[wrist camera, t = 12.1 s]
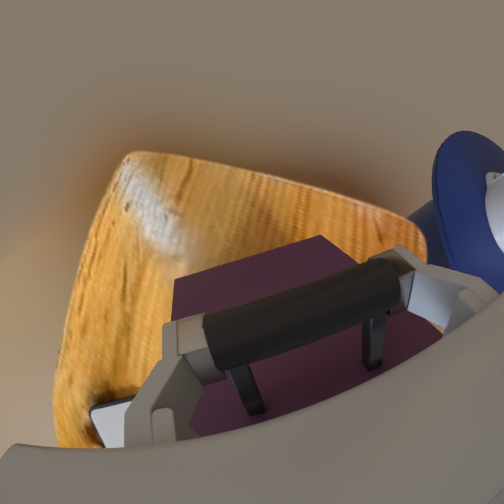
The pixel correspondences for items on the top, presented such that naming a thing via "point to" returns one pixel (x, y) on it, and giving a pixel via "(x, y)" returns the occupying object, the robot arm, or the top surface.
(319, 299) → the lid
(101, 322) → the top surface
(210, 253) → the top surface
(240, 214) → the top surface
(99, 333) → the top surface
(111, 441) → the smartphone
